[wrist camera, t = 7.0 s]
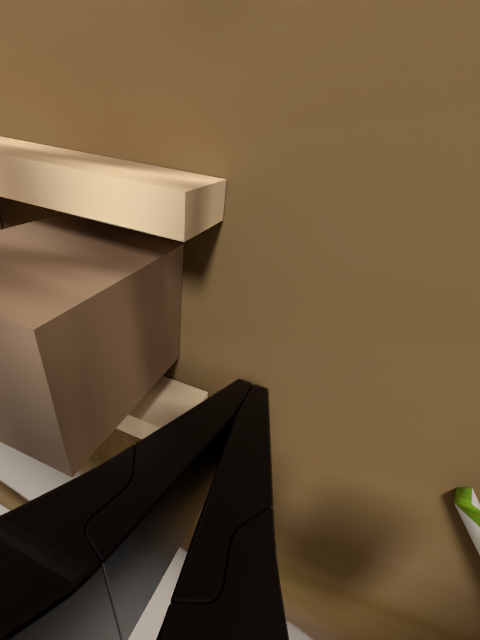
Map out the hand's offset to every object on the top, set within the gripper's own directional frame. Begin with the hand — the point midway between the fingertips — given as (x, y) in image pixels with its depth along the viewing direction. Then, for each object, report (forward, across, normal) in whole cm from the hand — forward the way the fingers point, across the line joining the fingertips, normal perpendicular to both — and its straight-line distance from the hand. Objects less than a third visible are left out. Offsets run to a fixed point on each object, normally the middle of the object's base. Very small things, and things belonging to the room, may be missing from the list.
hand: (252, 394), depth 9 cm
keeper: (+3, +6, 0) cm, 7 cm away
